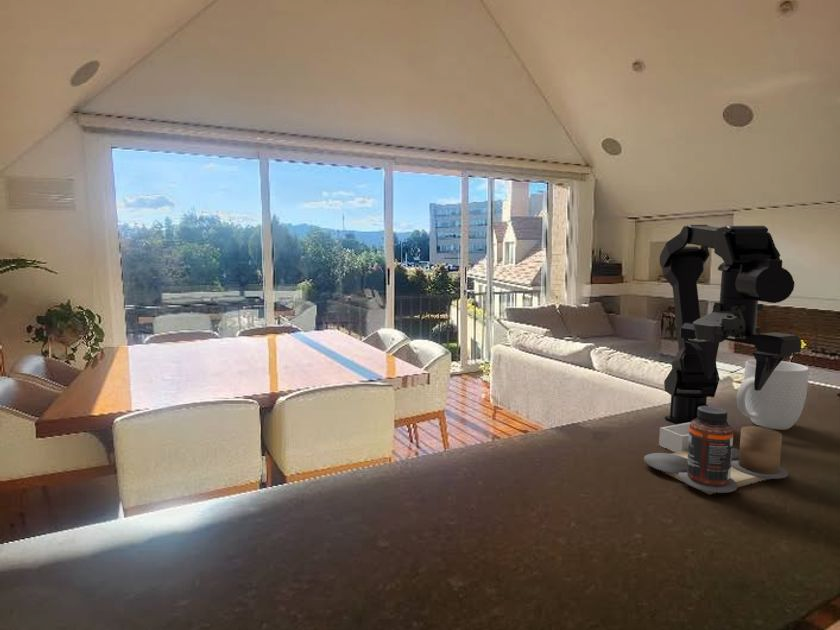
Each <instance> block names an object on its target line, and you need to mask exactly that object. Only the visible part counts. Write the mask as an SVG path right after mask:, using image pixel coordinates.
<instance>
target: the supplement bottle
mask: <svg viewBox="0 0 840 630" xmlns="http://www.w3.org/2000/svg"><path fill="white" fill-rule="evenodd" d="M697 416H698V417H697V418H696V419H694V420H692V421H691V423H690V427H689V442H688V443H689V444H688V460H687V474H688V476H689V477H690V478H691V479H693V480H694V481H696V482H699V483H702V484H705V485H709V486H723V485H726V484H728V483H729V482H730V475H731V460H732V448H734V446H733V445H734V444H733V442H734V429H733V428H734V427H732V425H731V424H729V423H728V411H727V410H726V409H725V408H722V407H718V406H712V405H708V406H700V407H698V411H697Z"/></svg>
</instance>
